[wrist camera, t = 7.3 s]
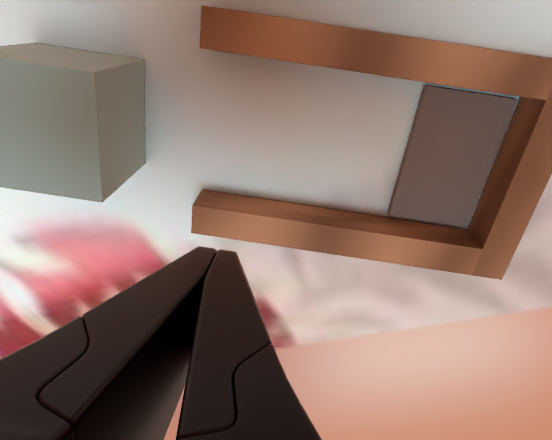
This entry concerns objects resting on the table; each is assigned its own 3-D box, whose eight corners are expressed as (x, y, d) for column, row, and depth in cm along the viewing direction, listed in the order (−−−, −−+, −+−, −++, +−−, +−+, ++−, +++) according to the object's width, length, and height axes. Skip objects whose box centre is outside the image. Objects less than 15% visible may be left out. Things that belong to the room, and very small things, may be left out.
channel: (571, 61, 17) (601, 66, 16) (485, 258, 22) (501, 279, 20) (212, 6, 17) (201, 5, 16) (200, 215, 22) (191, 232, 20)
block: (144, 59, 19) (93, 72, 14) (146, 162, 21) (102, 202, 16) (36, 42, 19) (-49, 50, 14) (49, 148, 21) (-21, 183, 16)
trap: (513, 98, 18) (517, 99, 18) (464, 223, 21) (466, 227, 21) (424, 84, 18) (427, 85, 18) (387, 212, 21) (389, 215, 21)
